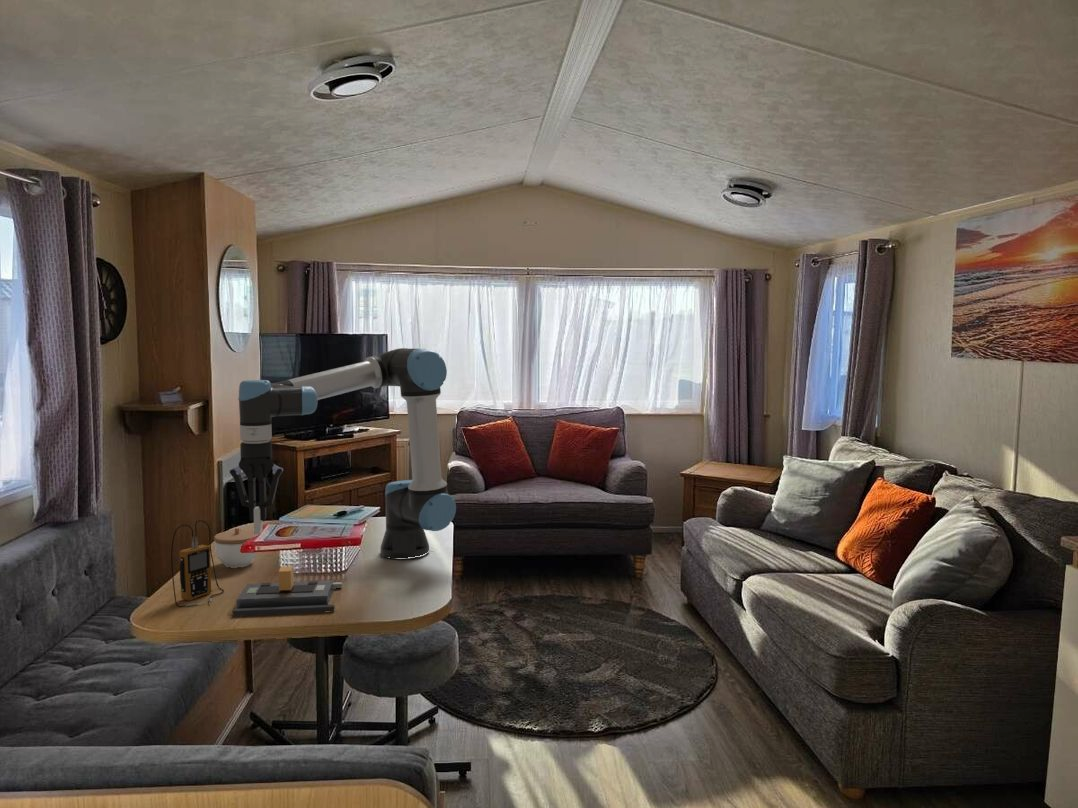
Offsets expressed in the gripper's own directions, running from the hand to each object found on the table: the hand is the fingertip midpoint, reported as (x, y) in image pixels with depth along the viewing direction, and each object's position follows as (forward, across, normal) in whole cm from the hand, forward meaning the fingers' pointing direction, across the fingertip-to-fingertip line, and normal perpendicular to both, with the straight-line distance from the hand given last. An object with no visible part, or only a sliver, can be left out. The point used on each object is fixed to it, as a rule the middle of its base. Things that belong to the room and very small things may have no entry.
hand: (258, 532), depth 196 cm
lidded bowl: (+18, -13, +34) cm, 41 cm away
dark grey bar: (+18, +8, -9) cm, 22 cm away
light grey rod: (+18, +8, +9) cm, 22 cm away
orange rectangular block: (+15, +7, 0) cm, 16 cm away
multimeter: (+19, -14, +4) cm, 24 cm away
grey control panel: (+18, +7, 0) cm, 19 cm away
